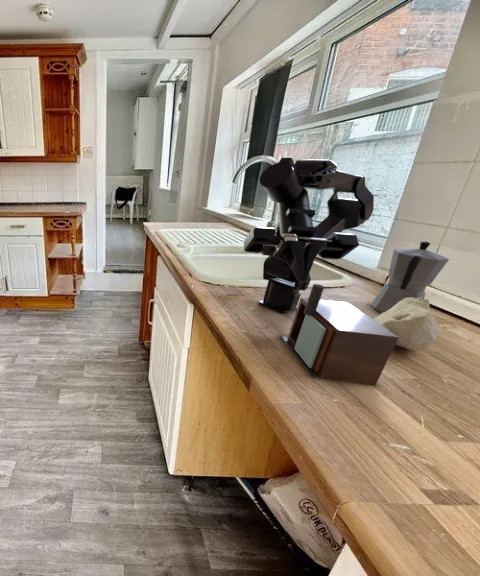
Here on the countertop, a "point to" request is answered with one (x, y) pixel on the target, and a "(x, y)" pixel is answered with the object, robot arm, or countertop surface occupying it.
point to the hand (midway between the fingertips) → (302, 281)
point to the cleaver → (310, 329)
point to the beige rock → (410, 323)
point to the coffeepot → (409, 275)
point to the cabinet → (345, 343)
